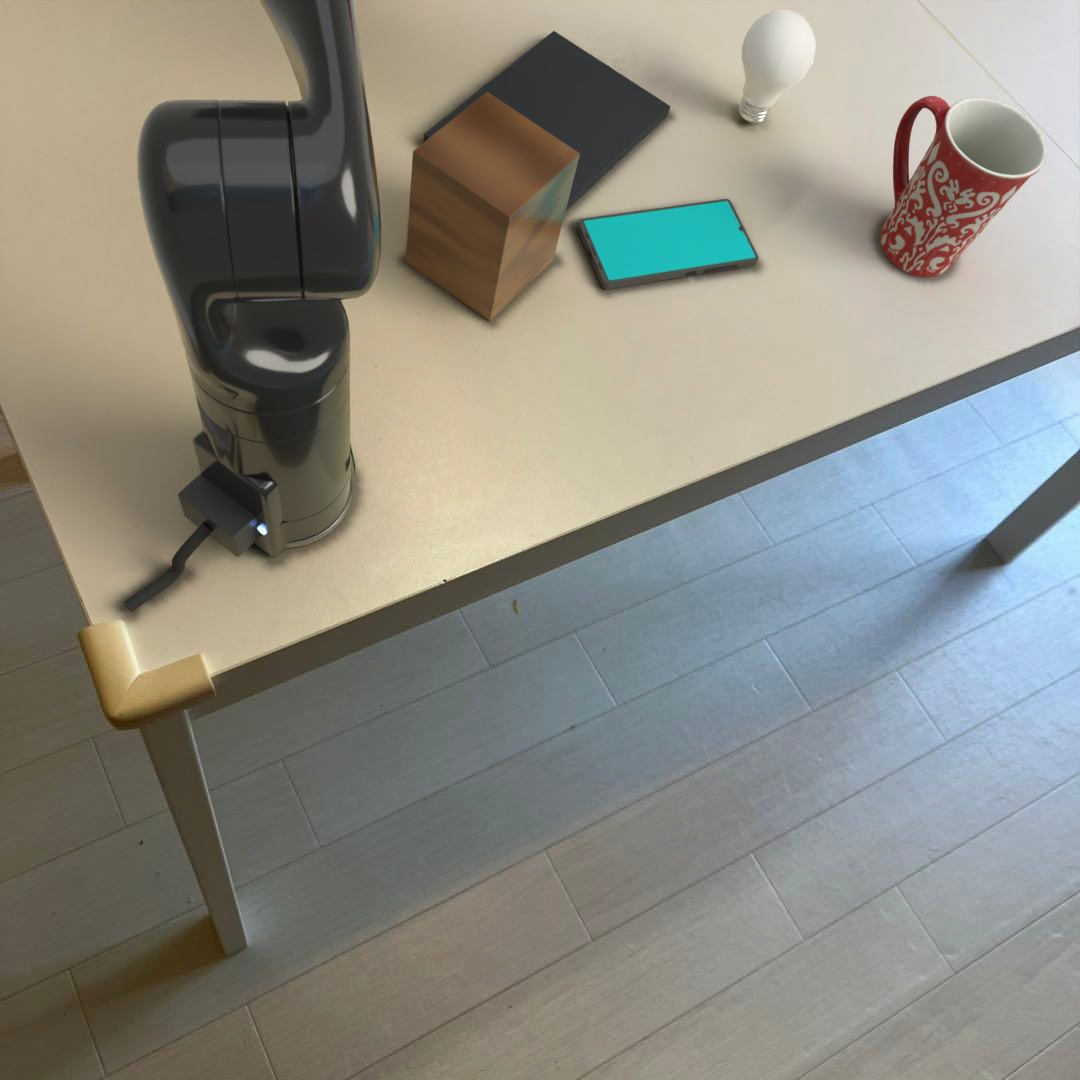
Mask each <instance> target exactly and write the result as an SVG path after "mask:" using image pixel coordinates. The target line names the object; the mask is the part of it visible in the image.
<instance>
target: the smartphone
mask: <svg viewBox="0 0 1080 1080" xmlns="http://www.w3.org/2000/svg"><path fill="white" fill-rule="evenodd" d="M576 230H577V232H578V234H579V237H580V239H581V241H582V244H583V246H584V248H585V251H586V253H587V255H588V258H589V261H590V262H591V265H592V268H593V270H594V272H595V274H596V277H597V279H598V282H599V284H600V286H601V288H602V289H604V290H610V289H611V290H612V289H618V288H624V287H631V286H636V285H642V284H649V283H654V282H661V281H668V280H673V279H680V278H686V277H693V276H699V275H705V274H711V273H712V274H713V273H717V272H724V271H730V270H736V269H737V270H738V269H743V268H750V267H754V266H756V265H757V262H758V261H759V255H758V252H757V251H756V249H755V247H754V244H753V242H752V241H751V239H750V236H749V235H748V233H747V230H746V228H745V226H744V224H743V222H742V221H741V218H740V217H739V214H738V213H737V211H736V209H735V207H734V205H733V203H732V200H730V199H729V198H721V199H714V200H707V201H700V202H693V203H686V204H685V203H684V204H677V205H671V206H663V207H657V208H648V209H641V210H634V211H626V212H621V213H620V212H619V213H612V214H605V215H598V216H592V217H584V218H580V219H578V221H577V225H576Z"/></svg>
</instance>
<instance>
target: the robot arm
mask: <svg viewBox="0 0 1080 1080" xmlns="http://www.w3.org/2000/svg"><path fill="white" fill-rule="evenodd" d="M259 2H260V4H261V6H262V8H263V9H264V12H265V14H266V15H267V17H268V18H269V21H270V23H271V24H272V26H273V28H274V30H275V32H276V34H277V36H278V38H279V41H280V42H281V44H282V47H283V50H284V51H285V53H286V56H287V58H288V61H289V63H290V67H291V69H292V71H293V74H294V77H295V80H296V83H297V86H298V89H299V90H298V91H299V92H300V93H299V94H300V96H301V99H299V100H289V101H288V102H286V101H285V100H252V99H251V100H248V99H247V100H243V99H240V100H239V99H220V100H219V99H173V100H166V101H162V102H161V103H158V104H157V105H156V106H154V107H153V108H152V109H150V111H149V113H148V114H147V116H146V118H145V119H144V121H143V123H142V127H141V129H140V133H139V138H138V141H137V152H136V165H137V166H136V167H137V168H136V170H137V173H136V175H137V185H138V192H139V198H140V203H141V210H142V215H143V220H144V224H145V227H146V231H147V234H148V239H149V241H150V246H151V248H152V252H153V256H154V257H155V261H156V264H157V267H158V270H159V273H160V276H161V278H162V279H161V280H162V281H163V284H164V287H165V290H166V292H167V293H166V294H167V295H168V299H169V301H170V304H171V308H172V311H173V314H174V318H175V321H176V324H177V328H178V332H179V337H180V340H181V343H182V347H183V351H184V353H185V354H184V355H185V359H186V363H187V366H188V370H189V373H190V378H191V382H192V386H193V390H194V395H195V399H196V403H197V408H198V411H199V412H198V413H199V416H200V421H201V425H202V428H203V429H202V430H201V431H199V432H198V433H197V434H196V435H194V437H193V438H192V445H193V448H194V452H195V456H196V460H197V464H198V468H199V471H200V473H199V474H198V475H197V476H196V477H195V478H193V479H192V480H191V481H190V482H189V483H188V484H187V485H186V486H185V487H184V488H182V489H181V490H180V491H179V492H178V493H177V497H178V499H179V503H180V506H181V509H182V512H183V515H184V517H186V518H187V519H188V520H189V521H191V522H192V523H193V524H194V525H196V526H197V528H196V529H195V531H194V532H193V533H191V535H190V536H189V537H188V538H187V539H185V541H184V542H183V543H182V545H181V546H180V547H179V548H178V549H177V551H176V552H175V553H174V555H173V557H172V558H171V566H170V567H169V568H168V569H167V570H166V571H165V572H163V573H162V574H161V575H160V576H158V578H156V579H155V580H153V581H152V582H151V583H149V584H148V585H147V586H144V587H143V588H141V589H140V590H139V591H137V592H135V593H134V594H132V595H131V596H129V597H128V598H127V599H126V600H124V601H123V602H122V603H123V605H124V607H125V608H127V609H128V611H130V612H131V613H133V612H134V611H135V610H137V609H138V608H140V607H141V606H142V605H144V604H146V603H147V602H148V601H150V600H152V599H153V598H154V597H156V596H157V595H159V594H160V593H162V592H163V591H164V590H166V589H167V588H168V587H169V586H171V585H172V584H174V583H175V581H176V580H177V579H178V578H179V577H180V576H181V575H182V574H183V572H184V571H185V569H186V562H187V561H188V559H189V558H190V557H191V556H192V555H193V553H194V552H195V551H196V550H197V549H198V548H199V547H200V545H201V544H202V543H203V542H204V541H205V540H206V539H207V538H208V537H211V538H212V539H214V540H215V541H216V542H218V543H219V544H220V545H221V546H223V547H224V548H225V549H226V550H228V551H229V553H231V554H233V555H234V556H235V557H236V558H239V557H241V556H242V554H244V553H245V552H246V551H247V550H248V549H249V548H250V547H251V546H252V545H253V544H255V545H256V546H257V547H259V549H261V550H262V551H263V552H264V553H266V554H267V555H269V556H270V557H271V558H276V557H278V556H279V555H280V554H282V552H283V551H285V550H286V549H292V548H299V547H300V548H301V547H305V546H307V545H310V544H313V543H315V542H318V541H320V540H321V539H323V538H325V537H327V536H328V535H329V534H331V533H332V532H333V531H334V530H335V529H336V528H337V527H338V526H339V525H340V524H341V523H342V521H343V520H344V518H345V517H346V515H347V513H348V512H349V511H348V510H349V509H350V506H351V503H352V497H353V480H352V474H351V472H352V471H351V469H352V468H351V467H353V471H354V473H356V463H355V457H354V453H353V449H352V443H351V331H350V323H349V316H348V314H347V310H346V308H345V307H344V304H343V302H342V301H344V300H352V299H358V298H361V297H362V296H364V295H366V294H367V293H368V292H369V291H370V290H371V289H372V287H373V285H374V283H375V281H376V279H377V276H378V272H379V270H380V269H379V268H380V262H381V255H382V253H381V252H382V216H381V214H382V213H381V200H380V191H379V182H378V181H379V180H378V175H377V174H378V173H377V165H376V157H375V156H376V155H375V149H374V141H373V134H372V127H371V121H370V112H369V104H368V98H367V91H366V84H365V77H364V69H363V61H362V54H361V47H360V40H359V32H358V25H357V17H356V10H355V9H356V8H355V1H354V0H259ZM351 462H352V465H351Z"/></svg>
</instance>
